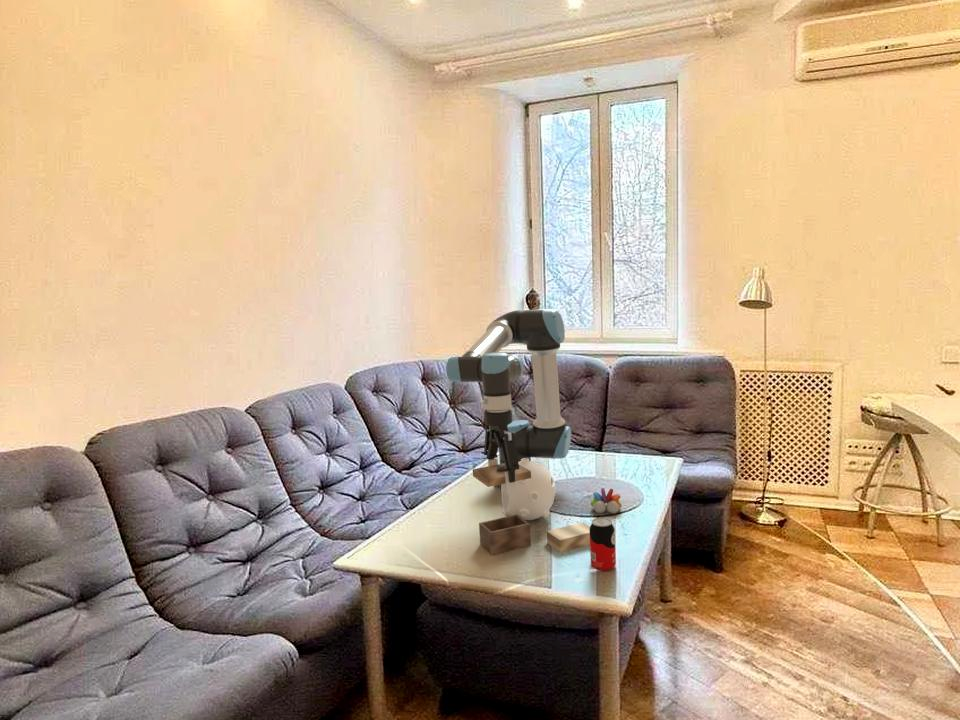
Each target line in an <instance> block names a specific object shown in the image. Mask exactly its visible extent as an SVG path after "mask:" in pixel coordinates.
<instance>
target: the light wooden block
mask: <svg viewBox="0 0 960 720" xmlns="http://www.w3.org/2000/svg"><path fill="white" fill-rule="evenodd" d="M590 526H591V525H588V524H586V523H585V522H580V523H579V522H578V523H575V524H571V525H566V526H562V527H558V528H554V529H553V528H552V529H549V530H546V540H547V541H546V542H547V544H548V545H549V546H551V547H552V548H553V549H555V550H556V551H558V552H559V553H562V552H566V551H570V550H574V549H577V548H581V547H585V546H589V547H590Z"/></svg>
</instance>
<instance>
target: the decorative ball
mask: <svg viewBox="0 0 960 720" xmlns="http://www.w3.org/2000/svg"><path fill="white" fill-rule="evenodd" d="M518 463H519V465H521V466H523V467H524V468H526V469H528V470H530V471H531V478H529V479H525V480H520V481H516V493H512V494H506V484H501V488H500V494H501V495H500V496H501V505H502V510H501V513H503V514H504V515H505V517H508V516H512V515H518V516H520V517H521V518H522V519H524V520H525V521H533V520H536V519H539V518H541V517H543V518H544V519H545V518H547V517H548V516H549V515H550V514H551V511H550V510H551V508H552V506H553V504H554V501H555V494H556V483H555V480H554V478H553V476H552V475H551V472H550V471H549V470H548V469H547V468H546V467H545V466H543V465H542V464H540V463H537V462H535V461H532V460H531V461H529V459H528V458H523V459H521V461H520V462H518Z"/></svg>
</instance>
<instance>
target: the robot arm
mask: <svg viewBox="0 0 960 720" xmlns="http://www.w3.org/2000/svg"><path fill="white" fill-rule="evenodd" d="M565 330H566V329H565V324H564V321H563V317H562V315H561V313H560V312H559V310H557V309H548V308H542V309H540V308H539V309H523V310H512V311H509V312H507V313H504V314H502V315H500V316H499V317H497V318H496V319H494V320H493V321H492V322H490V324H488V325H487V328H486V330H485V333H484V334H482V336H481V337H480V338H479V339H478V340H476V342H475V343H474V344H472V346H471V347H470V348H469V349H468V350H467V351H466V352H465V353H464V354H463V355H462V356H459V355H457V356H450V357H449V358H448V360H447V361H446V365H445V371H446V376H447V379H448V380H449V381H451V382H452V383H453V382H454V383H455V382H456V383H457V382H458V383H461V384H462V383H482V390H483V391H482V393H483V399H482V403H483V408H484V412H483V413H484V423H485V425H484V427H485V431H484V432H485V433H484V434H485V435H484V448H483V455H484V456H486V459H487V467H488V466H493V465H498V464H503V463H505V466H506V469H505V470H504V471H505V484H506V494H512V493H516V479H515V470H517V469H519V463H518V462H520V461H521V459H523V458H528V459H529V461H532V460H531V459H532V458H535V459H536V458H537V459H538V458H539V459H551V460H552V459H553V460H555V459H556V460H557V459H559V460H562V459H565V458H566V457H567V455H568V454H569V451H570V446H571V441H572V428H571V427H570V426H568V425H567V424H566V420H565V418H564V417H562V415H561V404H560V403H561V401H560V390H559V389H560V388H559V386H560V385H559V372H558V360H557V359H558V358H557V352H558V351H559V349H560V348H561V344H562V343H564V341H565V339H566V338H565V333H566V331H565ZM512 344H513V345H514V344H515V345H516V344H519V345H520V344H521V345H523V344H525V345H526V350H527V351H528V352H529V353H530V354H531V361H532V375H533V376H532V377H533V388H534V401H535V402H534V403H535V413H536V418H535V419H534V420H533V422H532V425H530V421H529V420H525V419H519V420H513V414H512V413H513V412H512V410H511V408H512V407H513V406H512V393H511V382H514V381H516V380H518V379H519V377H521V376H522V374H523V373H524V370H525V369H524V367H525V366H524V362H523V360H522V359H521V358H520V357H519V356H518V355H516V354H513V353H512V354H507V353H506V352H500V351H501V350H502V349H503V348H506V347H508V346H509V345H512ZM498 458H499V463H498ZM496 487H497V488H500V489H501V484H500V485H496Z"/></svg>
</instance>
